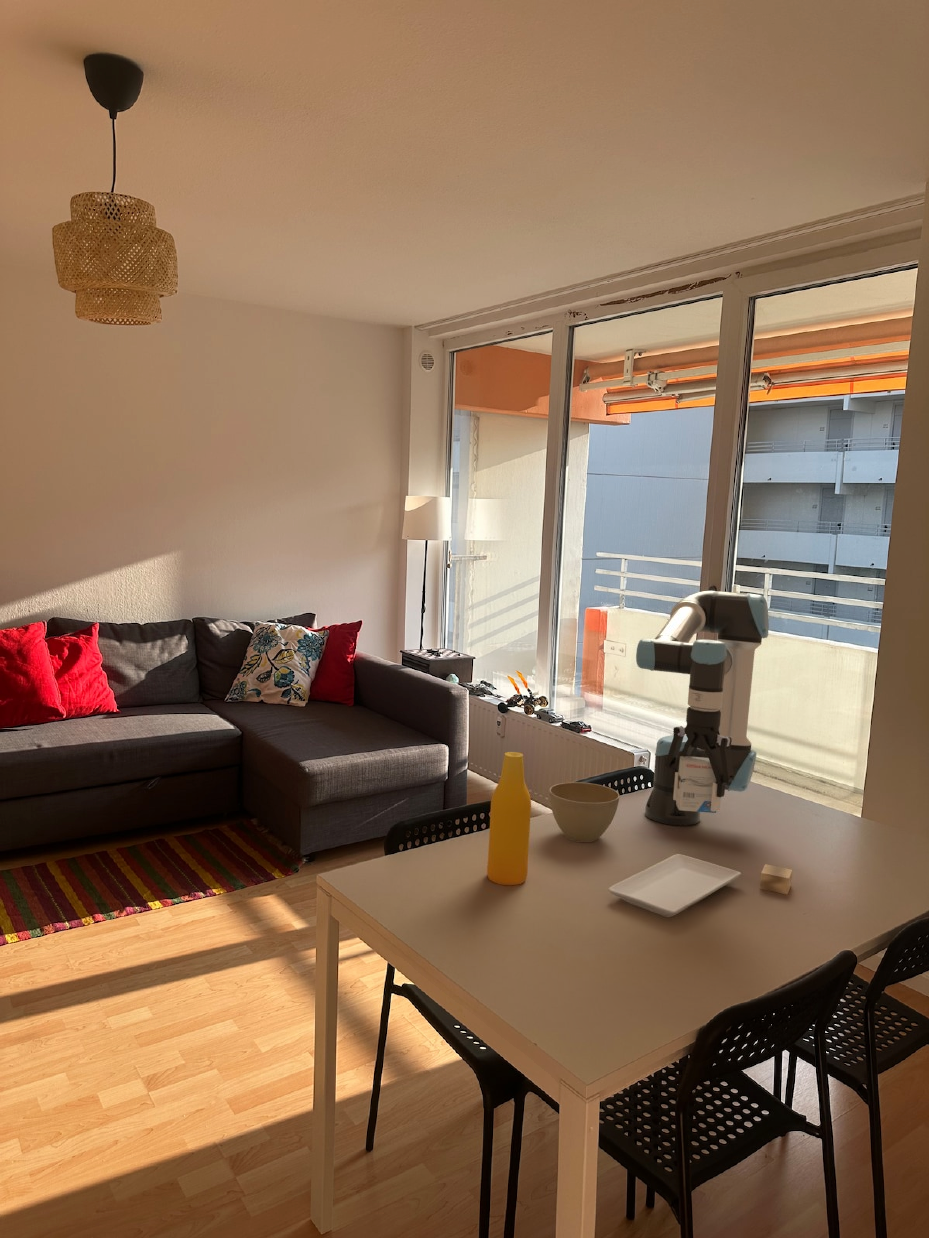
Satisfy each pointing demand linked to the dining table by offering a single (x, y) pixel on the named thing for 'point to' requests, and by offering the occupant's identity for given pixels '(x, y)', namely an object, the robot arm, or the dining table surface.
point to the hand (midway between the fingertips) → (696, 804)
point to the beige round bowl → (583, 809)
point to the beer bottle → (509, 824)
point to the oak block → (776, 879)
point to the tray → (673, 884)
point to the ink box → (695, 784)
